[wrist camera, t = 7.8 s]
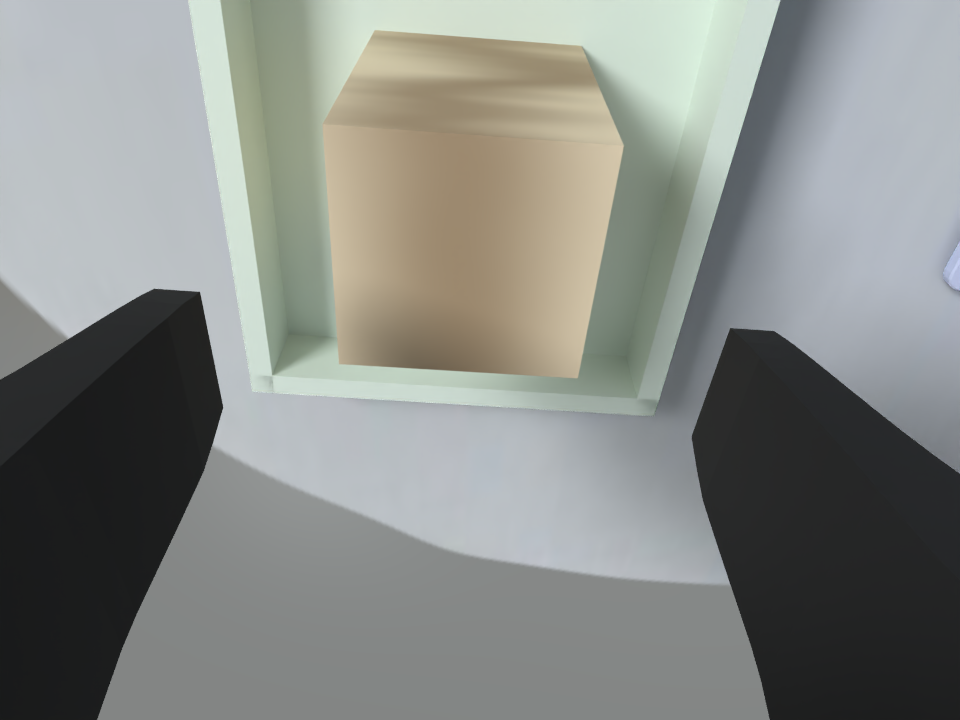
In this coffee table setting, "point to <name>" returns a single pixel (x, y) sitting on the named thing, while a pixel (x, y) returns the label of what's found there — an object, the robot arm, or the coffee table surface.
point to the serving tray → (635, 210)
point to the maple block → (468, 204)
